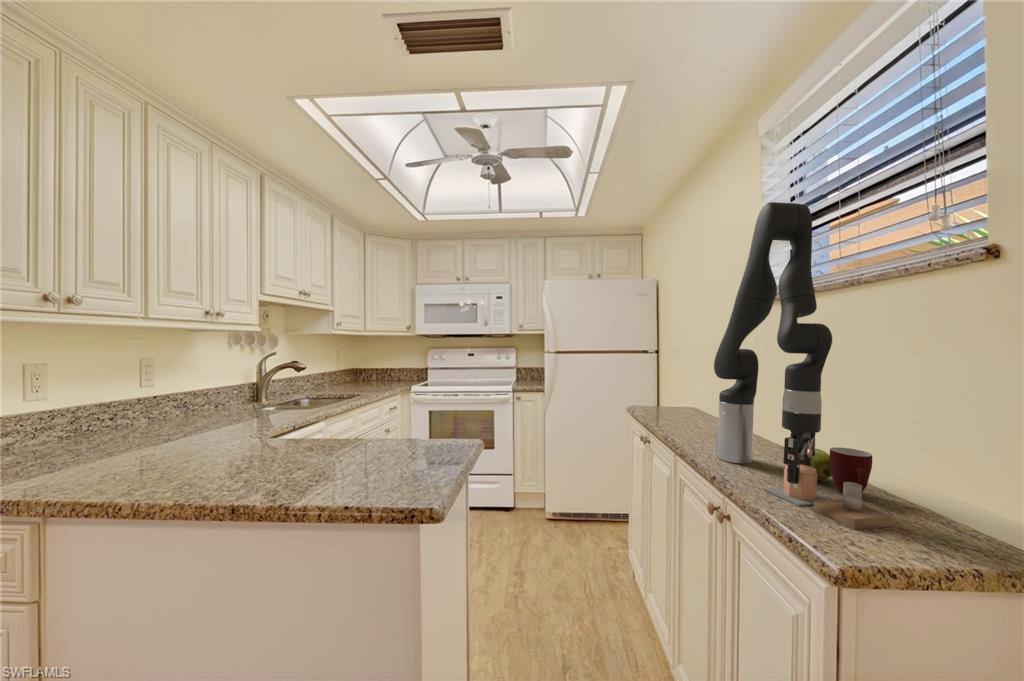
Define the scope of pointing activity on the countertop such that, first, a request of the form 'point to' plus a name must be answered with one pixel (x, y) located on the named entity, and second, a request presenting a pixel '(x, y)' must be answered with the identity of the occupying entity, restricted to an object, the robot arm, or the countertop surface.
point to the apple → (821, 464)
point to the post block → (853, 510)
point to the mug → (850, 466)
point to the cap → (802, 484)
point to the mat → (796, 501)
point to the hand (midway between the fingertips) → (798, 479)
